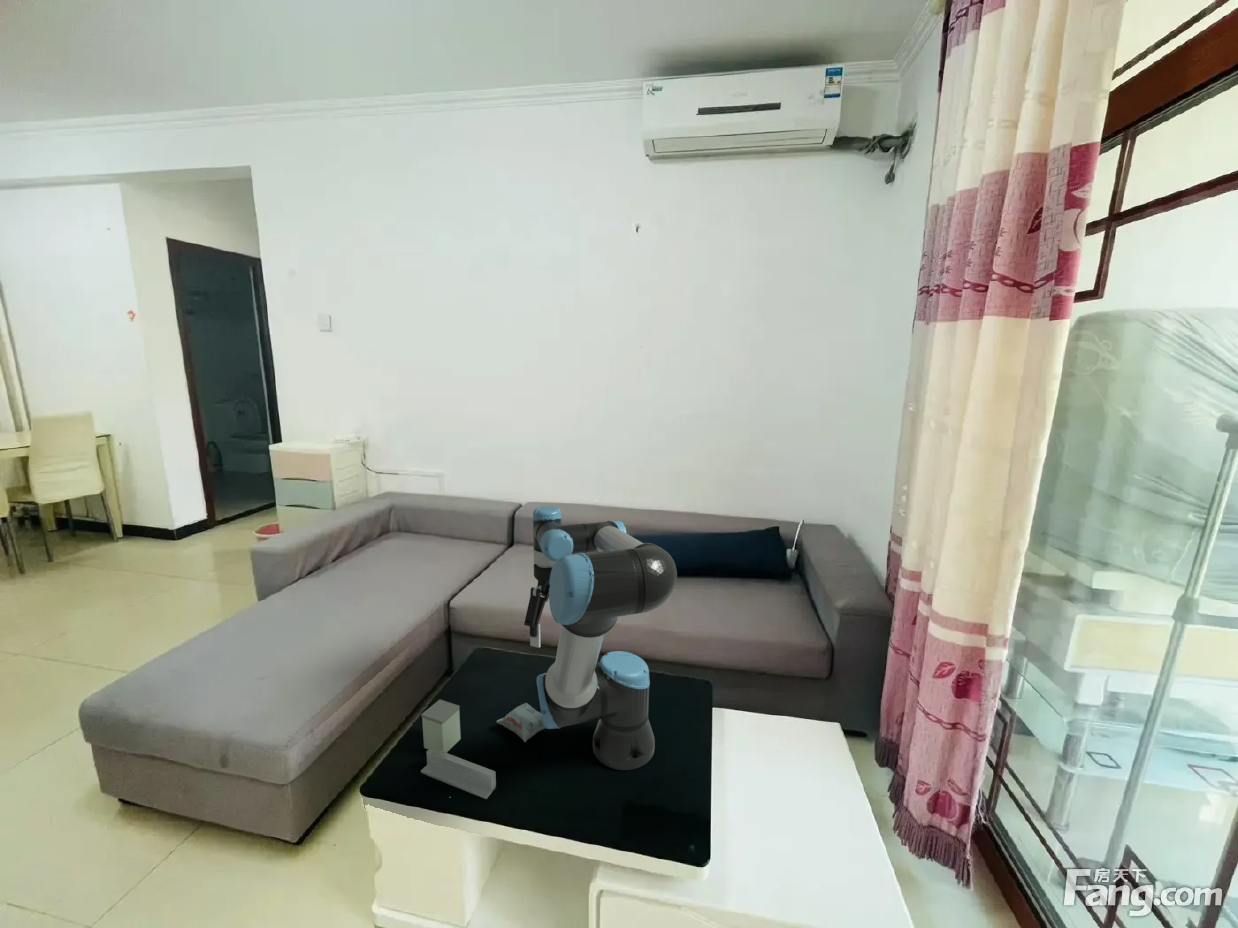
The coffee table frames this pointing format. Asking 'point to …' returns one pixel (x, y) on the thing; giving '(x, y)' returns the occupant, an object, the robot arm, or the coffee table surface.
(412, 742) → the coffee table surface
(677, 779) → the coffee table surface
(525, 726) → the packaged food
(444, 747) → the tea tin
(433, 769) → the rail
